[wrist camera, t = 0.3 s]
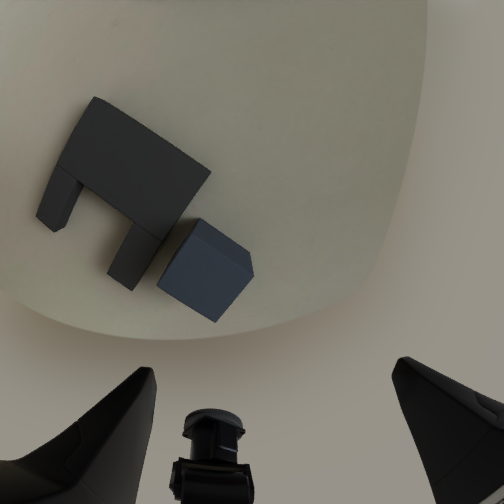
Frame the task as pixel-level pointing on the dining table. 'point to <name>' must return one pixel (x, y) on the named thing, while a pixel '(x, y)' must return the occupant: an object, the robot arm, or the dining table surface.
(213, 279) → the navy rounded cube
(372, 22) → the dining table surface
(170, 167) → the black arch block
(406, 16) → the dining table surface
